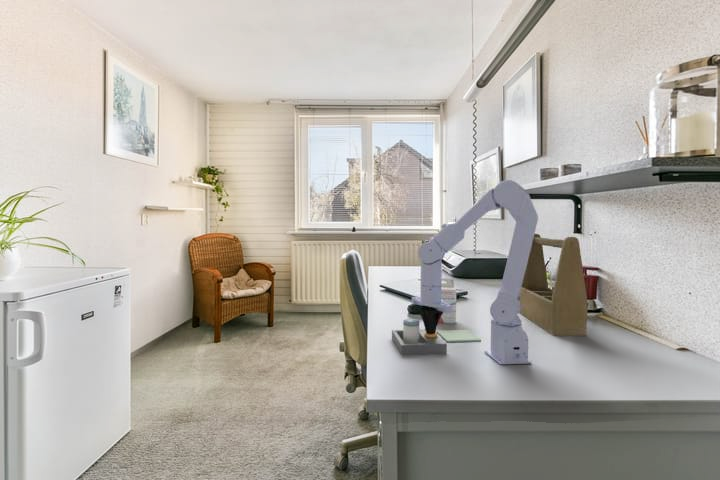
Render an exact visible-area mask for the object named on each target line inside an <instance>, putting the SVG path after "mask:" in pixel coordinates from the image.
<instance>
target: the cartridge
mask: <svg viewBox="0 0 720 480" xmlns="http://www.w3.org/2000/svg"><path fill="white" fill-rule="evenodd" d="M402 322H403V326H402V330H403V339H402V341H403V343H404V344H418V343H420V341H419V329H420V320H419V319H417V318H406V319H403V321H402Z"/></svg>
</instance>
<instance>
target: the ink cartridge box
mask: <svg viewBox="0 0 720 480" xmlns="http://www.w3.org/2000/svg"><path fill="white" fill-rule="evenodd" d="M442 282H443V283H442V293H441V300H443V302H445V303H447V304H449V305H452V313H448V314H446V313H444V312H443V314H442V315H441V317H440V319H439V321H438V323H439V324H443V323H444V324H456V323H457V322H456V321H457V288H456V287H455V279H454V278H450V277H449V278H447V277H442Z"/></svg>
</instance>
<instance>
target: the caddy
mask: <svg viewBox="0 0 720 480" xmlns="http://www.w3.org/2000/svg"><path fill="white" fill-rule="evenodd" d="M543 246H546V247H552V248H558V249H561V251H560V255H559V261H558V265H557V269H556V275H555V280H554V285H553V288H551V287H549V283H548V275H547V268H546V261H545V255H544V247H543ZM583 267H584V266H583V261H582V255H581V247H580V241H579V239H578V238H577V237H575V236H567V237H565V238H564V239H559V238H557V239H553V238H547V237H541V235H540V234H538V233H535V234H534V238H533V242H532V246H531V250H530V254H529V258H528V262H527V266H526V270H525V274H524V279H523V283H522V287H521V294H520V301H521V305H522V306H521V310H520V312H519V313H518V314H520V315H521V316H524V318H526V319H527V320H529V321H530V322H532V323H533V324H535V325H536V326H538V327H540V328H541V329H542V330H544V331H545V332H547V333H548V334H550V335H551V336H570V337H571V336H572V337H573V336H576V337H577V336H578V337H579V336H583V337H584V336H587V333H588V332H587V329H588V327H587V326H588V325H587V324H588V310H589V305H588V296H587V289H586V281H585V274H584V268H583Z"/></svg>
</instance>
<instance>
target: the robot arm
mask: <svg viewBox="0 0 720 480" xmlns="http://www.w3.org/2000/svg"><path fill="white" fill-rule="evenodd" d="M502 208H503V209H505V210H507V211H508V213H509V214H510V215H511V217H512V219H514V221H515V226H514V231H513V234H512V237H511V238H512V239H511V242H510V248H509V251H508V255H507V258H506V259H507V261H506V264H505V268H504V272H503V277H502V280H501V285H500V287H499V289H498V292H497V295H496V296H497V297H496V299H495V300H494V301H493V302H492V303H491V305H490V306H489V307H490V308H489V311H490V312H489V313H490V316H491V318H490V349H485V350H484V353H485V354H487V355H488V356H489V357H491V359H493V360H494V361H495V362H497V363H498V364H499V365H520V364H521V365H522V364H523V365H524V364H532V361H531V359H529V336H528V333H526V330H524V328H523V326H522V319H521V318H520V317H519V315H518V314H520V313H519V312H520V310H521V306H522V305H521V301H520V294H521V287H522V283H523V279H524V274H525V270H526V266H527V262H528V258H529V254H530V250H531V246H532V242H533V238H534V234H536V229H537V225H538V221H539V215H538V212H537V210H536V207H535V205H534V203H533V202H532V199H531V196H530V194H529V192H528V191H527V190H526V189H525V188H523V186H522V185H520V184H519V183H517V182H516V181H515V180H512V179H504V180H502V181H500V182H498V183H497V185H496V186H495V187H494V188H493V187H492V188H491V189H489V190H488V191H487V192H486V193H485V194H484V195H482V196H481V197H480V199H478V200H477V202H475V203H474V204H473V205H472V207H470V208H469V209H468V210H467V211H466V212H465V213H464V214H463V215H462V216H461V217H460V218H459V219H458V220H457V221H456V222H453V221H452V222H451V221H450V222H447V223H443V224H442V225H441V226H440V227H441V229H440V230H439V231H438V232H437V233H435V235H433V236H432V235H431V236H430V237H428V240H429V241H425V242H422V243H421V245H420V246H419V248H418V250H417V256H418V259H419V260H420V296H412V297H411V304H412V305H418V306H421V307H420V308H419V307H418V311H417V312H418V313H419V315H420V317H421V319H422V322H423V325H424V329H425V330H426V333H427V334H435V332H437V326H438V321H439V319H440V317H441V315H442V314H443V312H444V313H446V314H448V313H452V305H449V304H447V303H445V302H443V300H441V293H442V282H443V281H442V278H443V277H442V274H443V271H442V260H443V259H444V258H445V255H446V254H447V253H448V252H450V251H451V250H452V249H453V248H454V247H456V246H457V245H458V244H459V243H460V242H461V241H462V240H464V238H465V232H466V231H467V230H468V229H469V228H470V227H471V226H472V225H474V224H475V223H477V222H478V221H479V220H480V219H482V217H484V216H485V215H486V214H488V213H489V212H491V211H496V210H500V209H502Z"/></svg>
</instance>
